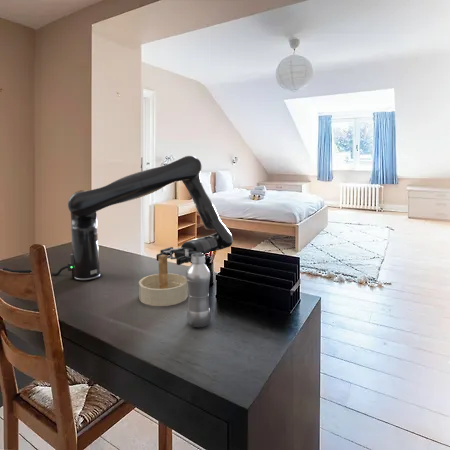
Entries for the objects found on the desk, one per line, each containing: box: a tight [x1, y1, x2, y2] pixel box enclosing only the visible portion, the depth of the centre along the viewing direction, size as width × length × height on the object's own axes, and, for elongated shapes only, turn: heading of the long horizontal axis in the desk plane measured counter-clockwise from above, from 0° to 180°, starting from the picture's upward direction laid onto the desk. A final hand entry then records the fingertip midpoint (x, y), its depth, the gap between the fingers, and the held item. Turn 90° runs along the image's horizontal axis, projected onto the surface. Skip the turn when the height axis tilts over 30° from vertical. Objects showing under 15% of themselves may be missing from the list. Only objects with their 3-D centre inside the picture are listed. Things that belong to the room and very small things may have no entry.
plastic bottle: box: [185, 254, 212, 328], centre depth 96 cm, size 6×7×20 cm
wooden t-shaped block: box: [158, 254, 169, 289], centre depth 115 cm, size 5×2×14 cm, turn 59°
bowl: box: [138, 272, 189, 307], centre depth 116 cm, size 16×16×6 cm
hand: (167, 259), depth 116 cm, fingers open, 8 cm apart
